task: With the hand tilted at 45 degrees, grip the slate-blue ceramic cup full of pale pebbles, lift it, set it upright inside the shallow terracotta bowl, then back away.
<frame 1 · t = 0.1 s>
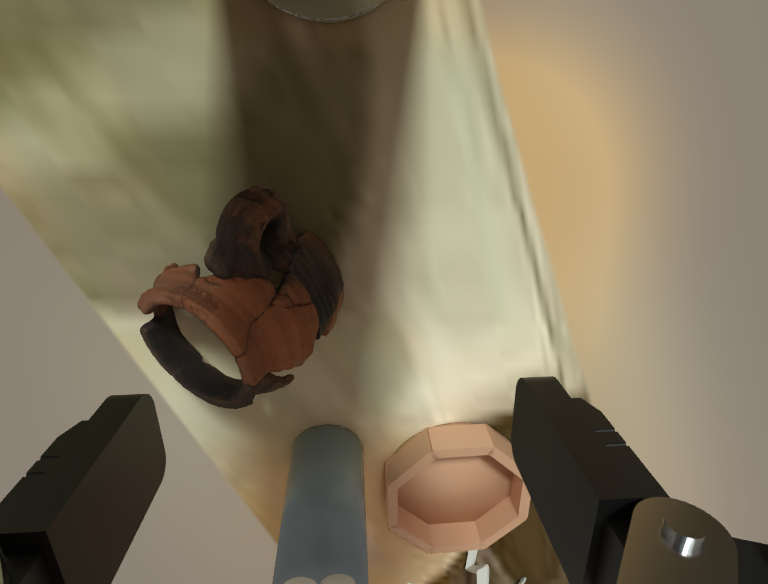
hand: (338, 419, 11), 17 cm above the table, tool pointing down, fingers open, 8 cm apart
pottery mug: (260, 270, 28), on the table
pebble cup: (327, 452, 34), on the table
terracotta bowl: (452, 475, 36), on the table
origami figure: (458, 574, 41), on the table
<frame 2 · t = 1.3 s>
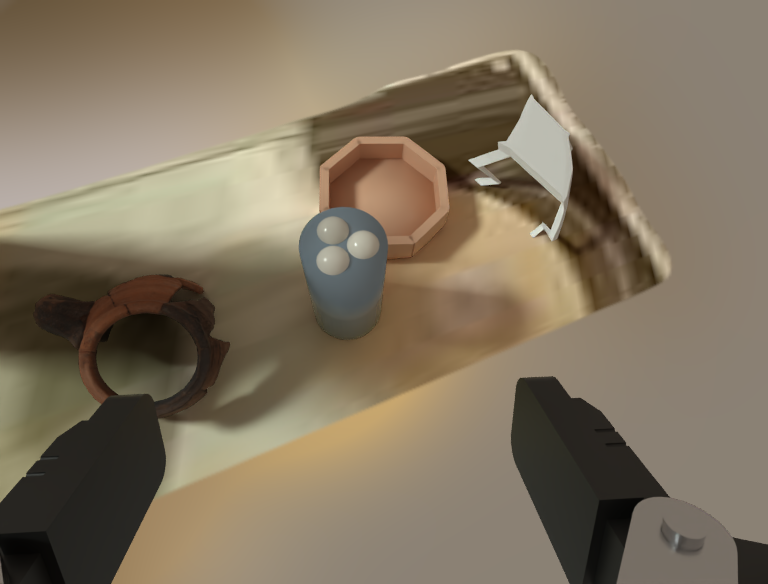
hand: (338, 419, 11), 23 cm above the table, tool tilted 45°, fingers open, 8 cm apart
pottery mug: (157, 347, 35), on the table
pebble cup: (347, 307, 36), on the table
terracotta bowl: (382, 205, 40), on the table
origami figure: (520, 192, 41), on the table
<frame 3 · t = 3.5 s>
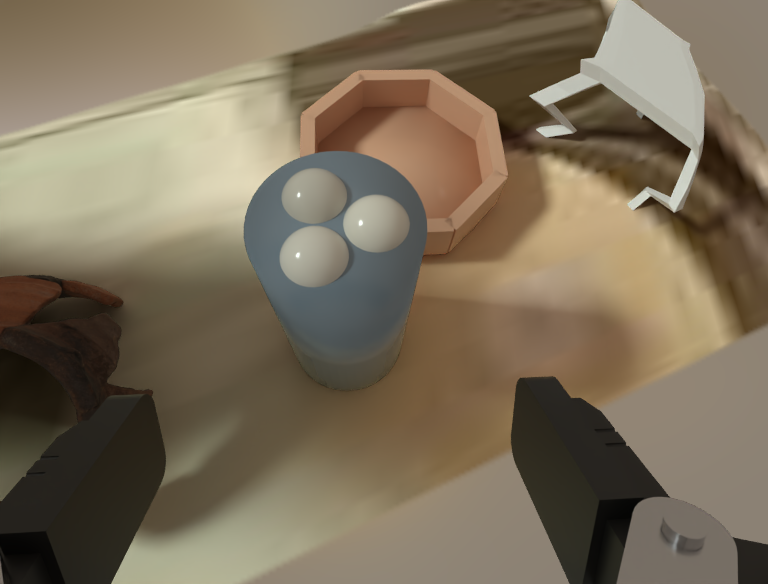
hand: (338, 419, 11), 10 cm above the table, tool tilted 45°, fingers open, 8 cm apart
pottery mug: (43, 395, 21), on the table
pebble cup: (348, 336, 22), on the table
terracotta bowl: (399, 175, 26), on the table
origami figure: (603, 146, 28), on the table
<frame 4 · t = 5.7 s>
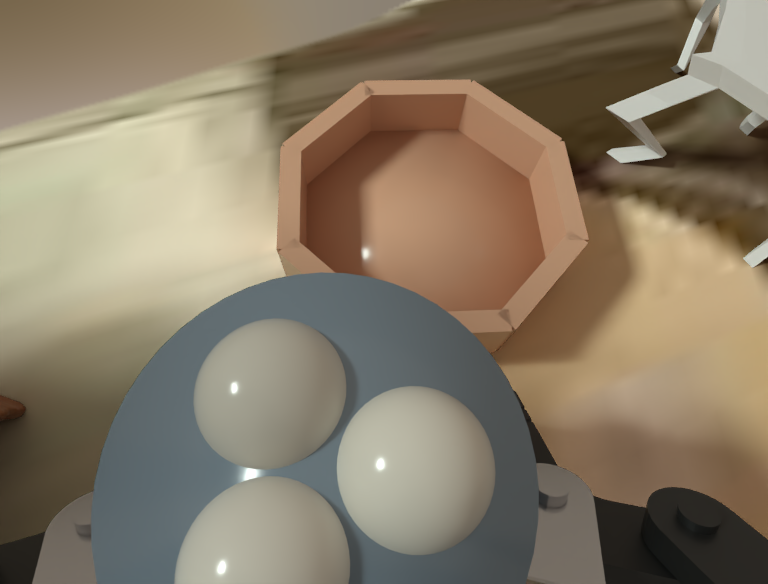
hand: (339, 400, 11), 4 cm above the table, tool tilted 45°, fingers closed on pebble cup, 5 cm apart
pebble cup: (348, 488, 15), on the table, touching gripper
terracotta bowl: (421, 229, 18), on the table
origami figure: (699, 174, 20), on the table
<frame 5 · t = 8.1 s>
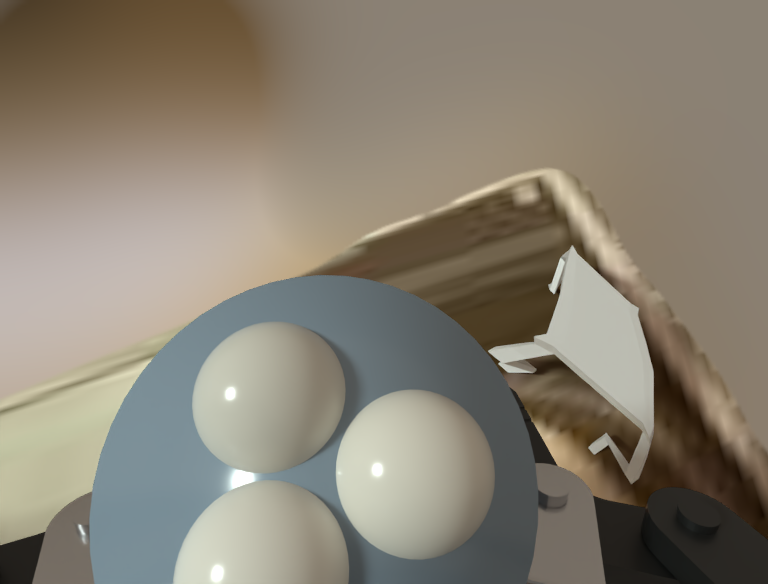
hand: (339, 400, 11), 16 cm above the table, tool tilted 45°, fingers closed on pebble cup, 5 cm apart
pebble cup: (348, 489, 15), point 12 cm above the table, touching gripper
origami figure: (564, 375, 29), on the table
when the fingers open (6 cm above the table, at t = 10.6 s): pebble cup drops 1 cm, resting on terracotta bowl.
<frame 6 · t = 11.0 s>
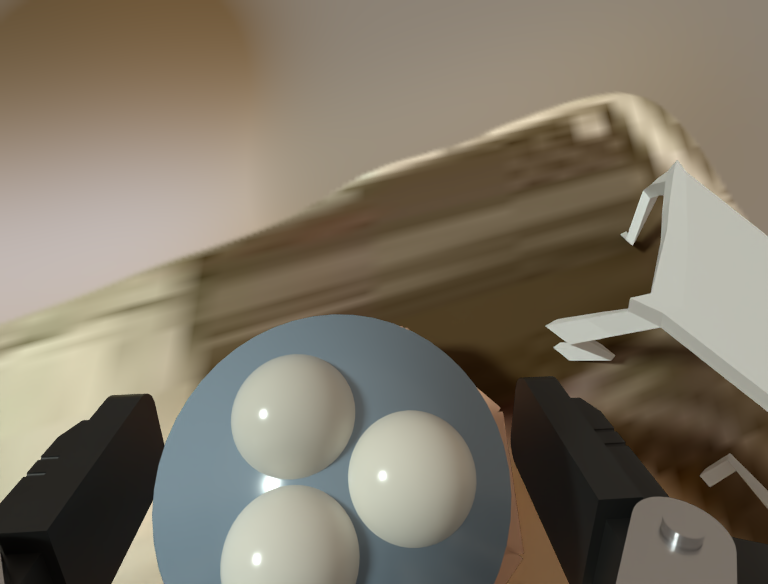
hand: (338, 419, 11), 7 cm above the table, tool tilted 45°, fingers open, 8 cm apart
pebble cup: (353, 492, 16), point 1 cm above the table, touching terracotta bowl
terracotta bowl: (349, 489, 17), on the table
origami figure: (652, 365, 19), on the table
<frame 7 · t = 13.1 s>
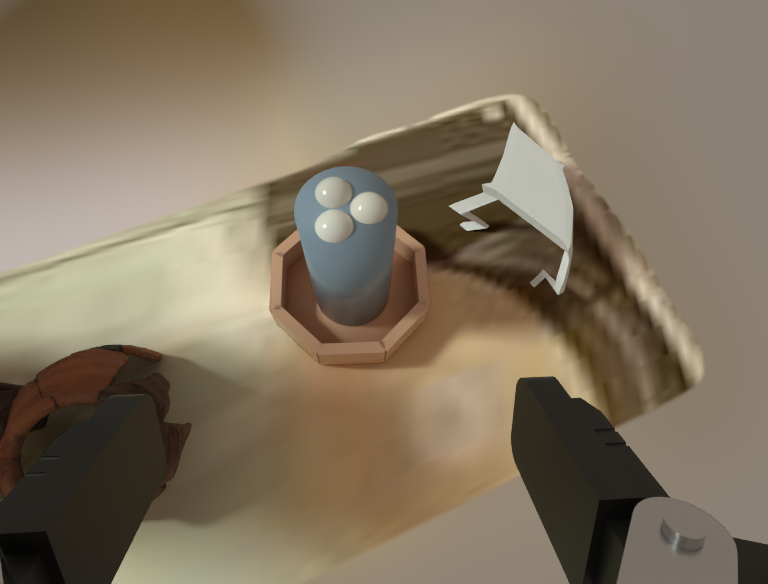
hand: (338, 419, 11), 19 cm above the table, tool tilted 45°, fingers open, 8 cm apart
pottery mug: (108, 428, 29), on the table
pebble cup: (352, 291, 32), point 1 cm above the table, touching terracotta bowl
terracotta bowl: (350, 293, 33), on the table
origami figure: (512, 234, 36), on the table
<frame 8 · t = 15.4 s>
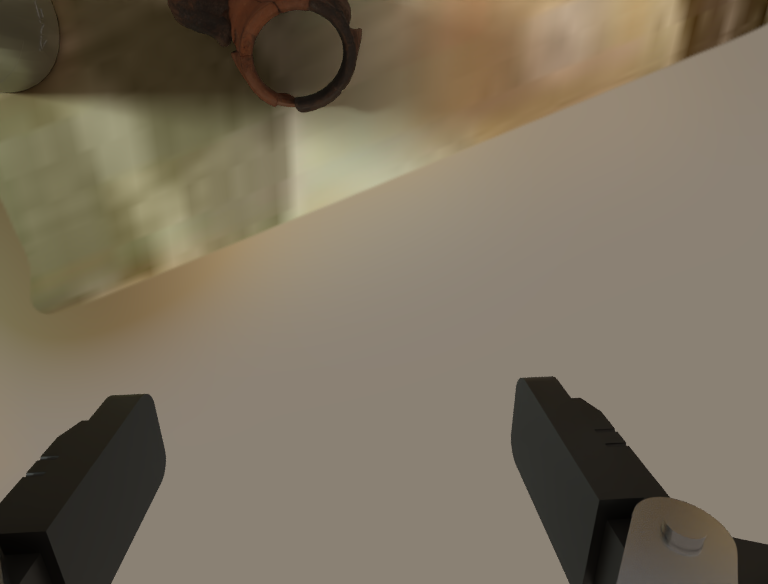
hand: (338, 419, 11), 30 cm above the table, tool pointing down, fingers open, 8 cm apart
pottery mug: (277, 29, 34), on the table
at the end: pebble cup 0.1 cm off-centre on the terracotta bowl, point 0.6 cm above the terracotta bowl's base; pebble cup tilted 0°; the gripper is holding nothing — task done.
